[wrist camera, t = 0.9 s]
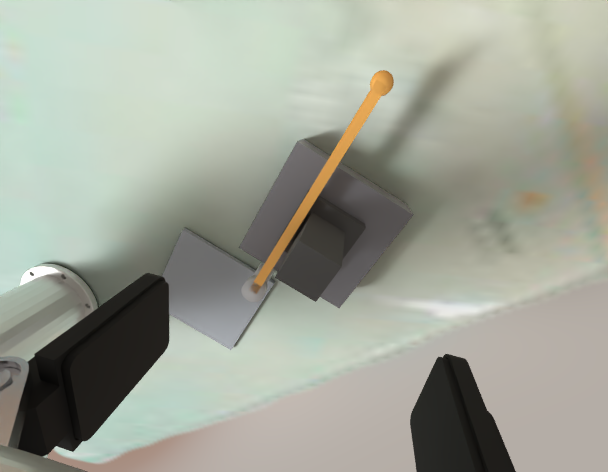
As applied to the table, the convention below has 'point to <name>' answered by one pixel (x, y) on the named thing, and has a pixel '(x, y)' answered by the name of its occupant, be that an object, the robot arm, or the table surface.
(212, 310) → the mat
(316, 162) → the socket
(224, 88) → the table surface
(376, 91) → the orange rod with ball
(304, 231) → the plug
